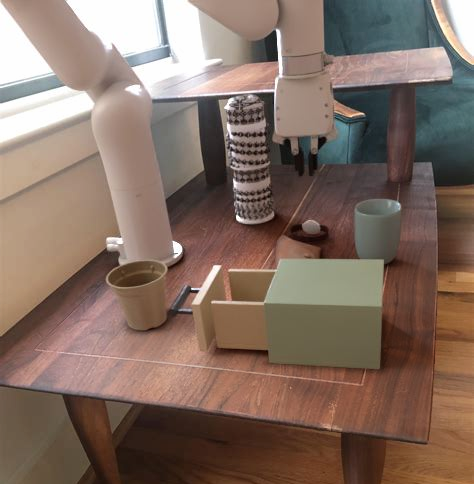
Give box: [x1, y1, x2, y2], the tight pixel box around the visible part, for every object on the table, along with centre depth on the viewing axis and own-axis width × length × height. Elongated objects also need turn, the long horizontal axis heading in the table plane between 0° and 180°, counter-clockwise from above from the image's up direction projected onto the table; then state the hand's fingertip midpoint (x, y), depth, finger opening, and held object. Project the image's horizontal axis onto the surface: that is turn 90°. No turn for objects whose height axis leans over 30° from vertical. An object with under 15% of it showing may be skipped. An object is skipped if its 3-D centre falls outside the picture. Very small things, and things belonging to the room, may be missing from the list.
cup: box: [353, 198, 403, 266], centre depth 94 cm, size 8×8×10 cm
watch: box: [289, 219, 330, 244], centre depth 106 cm, size 8×5×4 cm, turn 68°
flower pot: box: [105, 260, 169, 331], centre depth 85 cm, size 9×9×9 cm
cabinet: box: [264, 258, 385, 370], centre depth 75 cm, size 15×13×10 cm
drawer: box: [167, 264, 276, 353], centre depth 79 cm, size 18×11×8 cm, turn 76°
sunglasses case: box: [273, 234, 322, 270], centre depth 95 cm, size 18×7×7 cm
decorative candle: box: [223, 94, 275, 225], centre depth 114 cm, size 9×9×25 cm
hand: (306, 173), depth 100 cm, fingers closed
